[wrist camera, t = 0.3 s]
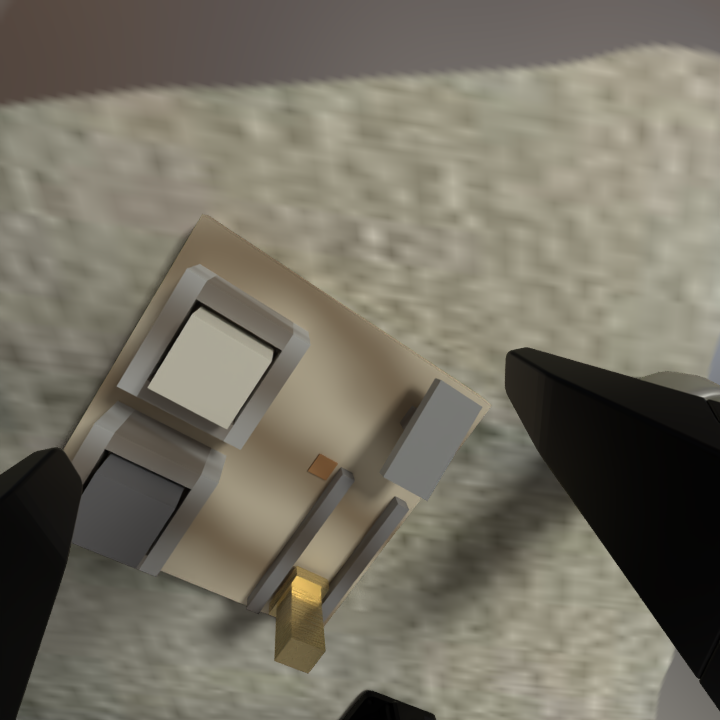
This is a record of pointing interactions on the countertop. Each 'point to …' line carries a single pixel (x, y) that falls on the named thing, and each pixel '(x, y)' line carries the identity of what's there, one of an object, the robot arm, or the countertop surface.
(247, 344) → the cream button
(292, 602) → the slider
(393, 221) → the countertop surface
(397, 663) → the countertop surface
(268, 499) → the panel
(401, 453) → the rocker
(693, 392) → the plastic bottle
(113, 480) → the charcoal button
